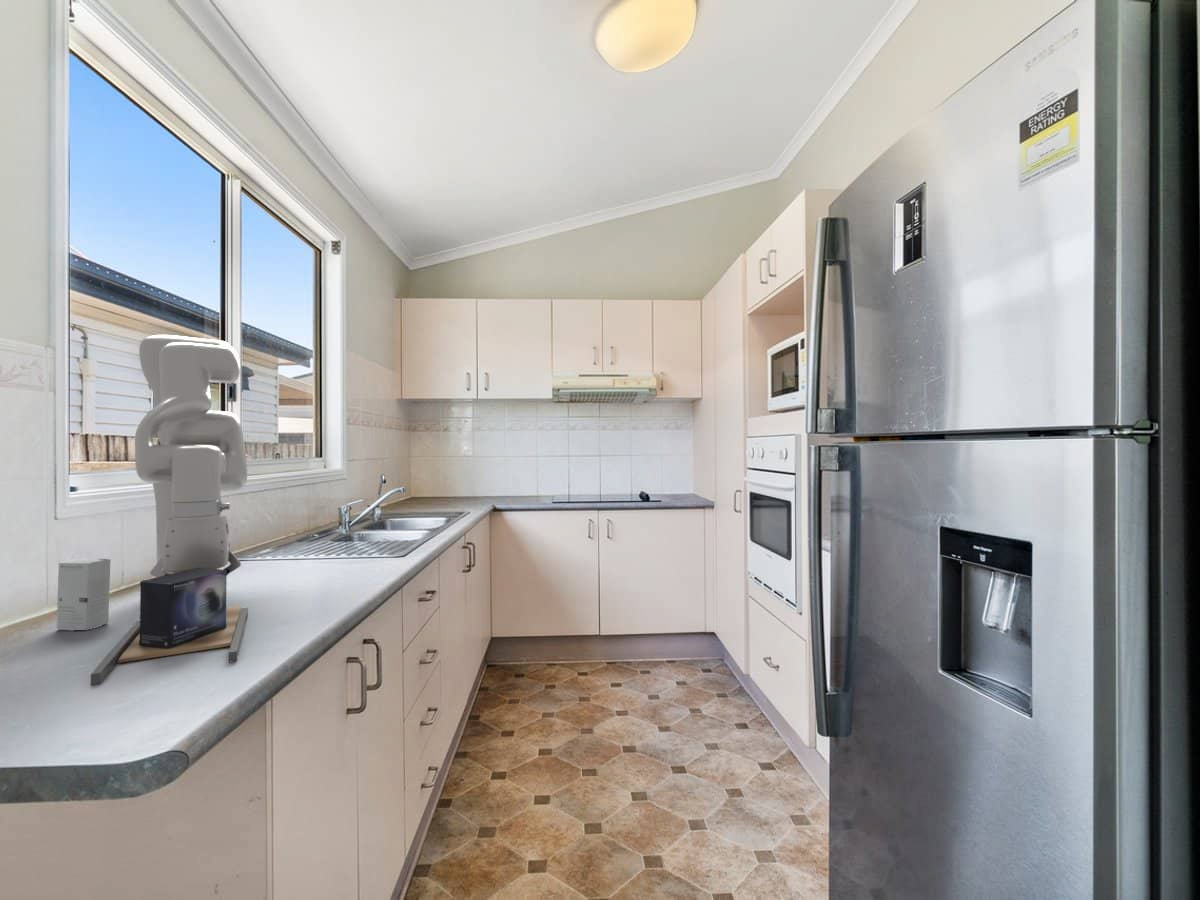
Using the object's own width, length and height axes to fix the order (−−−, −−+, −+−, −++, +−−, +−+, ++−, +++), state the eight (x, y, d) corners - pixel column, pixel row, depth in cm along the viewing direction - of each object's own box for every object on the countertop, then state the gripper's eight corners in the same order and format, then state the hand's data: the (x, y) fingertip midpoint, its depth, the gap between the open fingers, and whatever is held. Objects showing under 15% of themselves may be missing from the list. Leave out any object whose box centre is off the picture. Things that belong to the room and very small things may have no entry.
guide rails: (136, 629, 97) (136, 621, 97) (247, 615, 105) (247, 607, 105) (90, 685, 74) (90, 674, 74) (236, 661, 82) (236, 651, 82)
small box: (170, 650, 85) (170, 583, 85) (136, 647, 86) (136, 581, 86) (229, 627, 96) (228, 568, 95) (198, 625, 97) (197, 566, 97)
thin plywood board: (153, 618, 103) (153, 583, 103) (242, 607, 110) (242, 575, 109) (118, 663, 81) (117, 619, 81) (230, 645, 88) (230, 605, 88)
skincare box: (55, 630, 96) (54, 562, 96) (80, 622, 101) (80, 557, 101) (87, 631, 96) (86, 563, 96) (112, 623, 100) (111, 557, 100)
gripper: (250, 505, 111) (250, 595, 111) (145, 510, 103) (146, 607, 103) (247, 509, 105) (248, 604, 105) (135, 515, 97) (136, 618, 97)
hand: (197, 604), depth 104 cm, fingers closed on thin plywood board, 4 cm apart
